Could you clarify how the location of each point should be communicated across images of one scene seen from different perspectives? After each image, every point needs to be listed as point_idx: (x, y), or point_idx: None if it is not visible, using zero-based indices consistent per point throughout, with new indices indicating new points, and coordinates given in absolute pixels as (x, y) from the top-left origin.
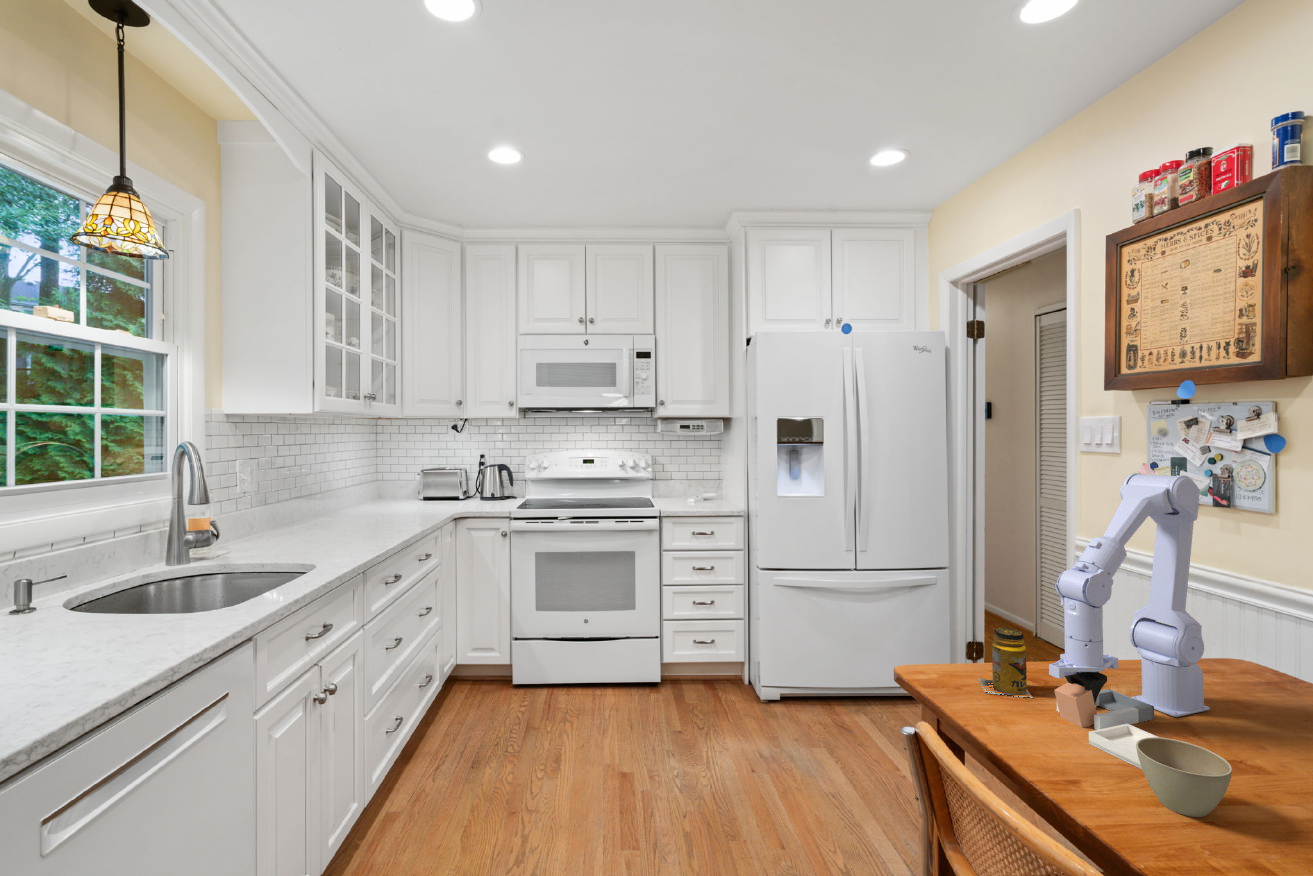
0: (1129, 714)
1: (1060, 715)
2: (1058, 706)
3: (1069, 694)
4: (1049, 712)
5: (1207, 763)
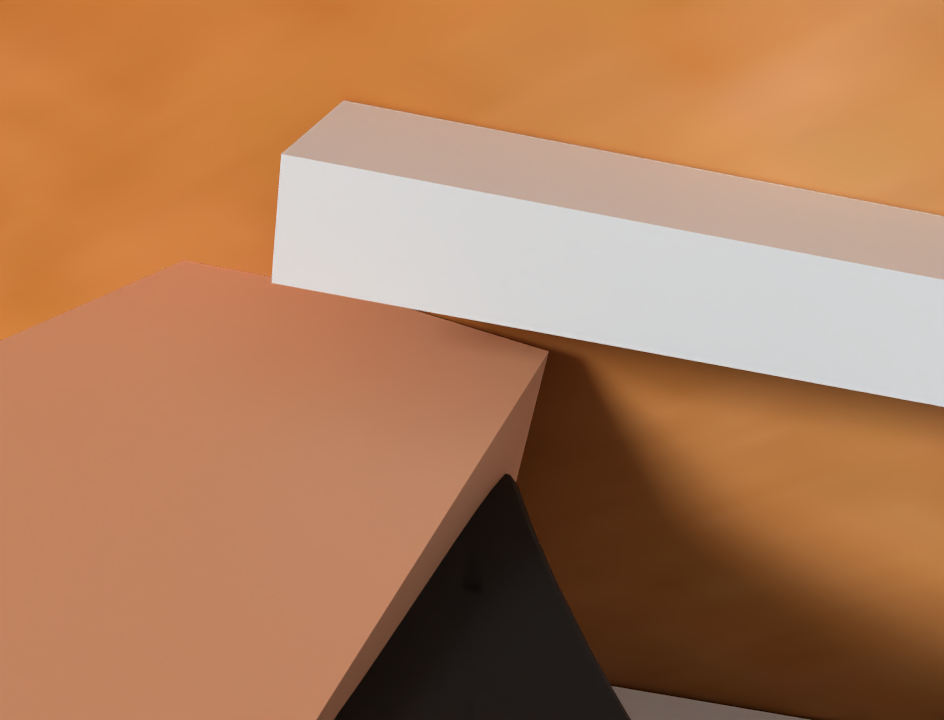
0: None
1: (153, 278)
2: (24, 338)
3: None
4: (188, 44)
5: None
